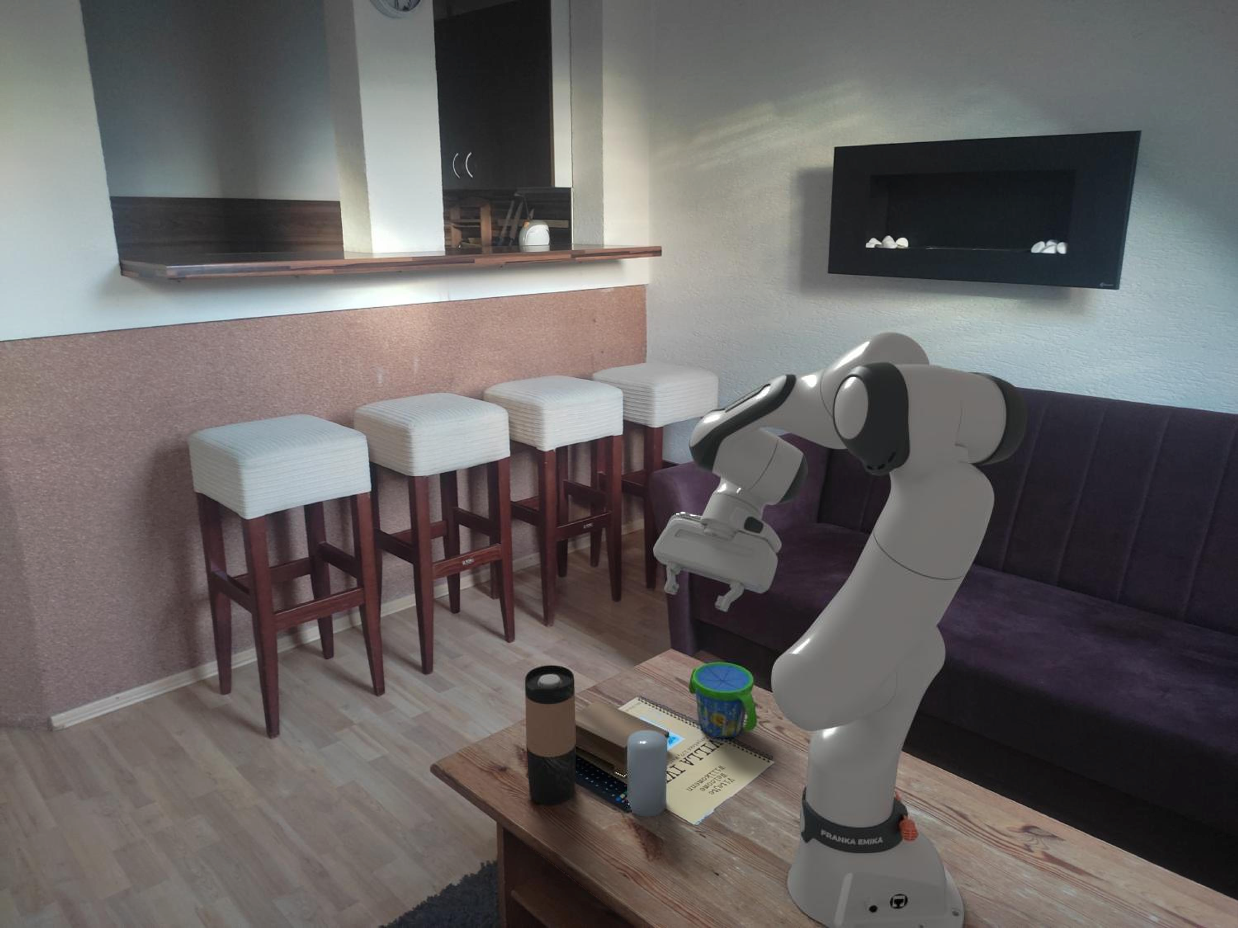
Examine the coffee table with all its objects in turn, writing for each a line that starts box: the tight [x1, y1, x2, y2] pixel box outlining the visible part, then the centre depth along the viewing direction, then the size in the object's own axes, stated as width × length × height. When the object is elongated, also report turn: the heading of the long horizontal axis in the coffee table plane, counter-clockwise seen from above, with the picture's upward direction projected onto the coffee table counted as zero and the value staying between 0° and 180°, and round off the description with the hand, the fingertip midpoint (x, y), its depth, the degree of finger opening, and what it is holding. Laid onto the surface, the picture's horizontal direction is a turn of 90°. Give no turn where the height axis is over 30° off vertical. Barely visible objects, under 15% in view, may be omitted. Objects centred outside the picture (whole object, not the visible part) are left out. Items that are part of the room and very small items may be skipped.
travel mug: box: [524, 664, 577, 806], centre depth 138 cm, size 8×8×20 cm
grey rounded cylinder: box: [626, 730, 668, 818], centre depth 136 cm, size 6×6×11 cm
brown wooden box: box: [575, 699, 670, 776], centre depth 152 cm, size 12×16×6 cm
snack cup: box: [688, 662, 758, 739], centre depth 156 cm, size 16×11×10 cm
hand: (694, 600), depth 139 cm, fingers open, 8 cm apart
